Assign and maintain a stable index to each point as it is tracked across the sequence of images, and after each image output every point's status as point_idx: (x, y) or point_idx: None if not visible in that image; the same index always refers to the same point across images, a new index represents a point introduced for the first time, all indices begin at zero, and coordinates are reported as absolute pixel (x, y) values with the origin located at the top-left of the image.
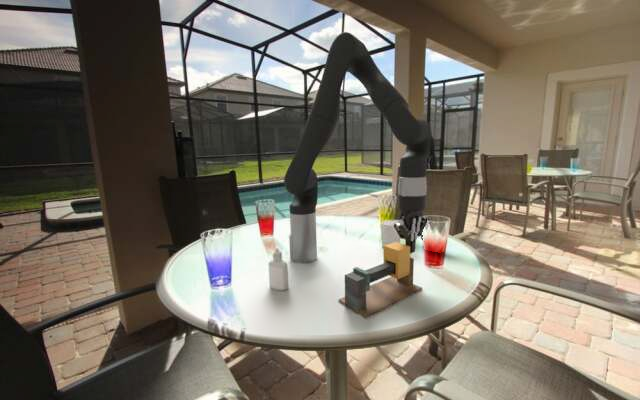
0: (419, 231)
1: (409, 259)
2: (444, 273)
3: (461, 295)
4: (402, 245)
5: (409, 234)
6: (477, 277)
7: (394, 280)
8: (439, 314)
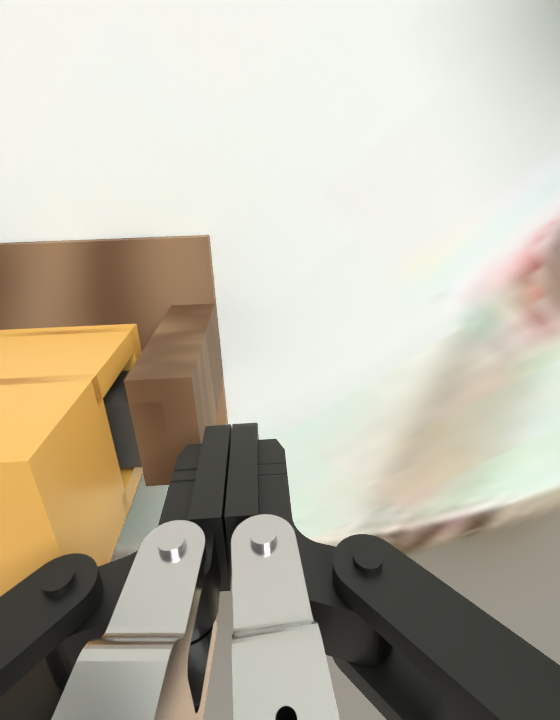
0: (369, 693)
1: (124, 510)
2: (487, 380)
3: (319, 528)
4: (25, 576)
5: (242, 589)
6: (539, 485)
7: (163, 289)
8: (125, 555)
